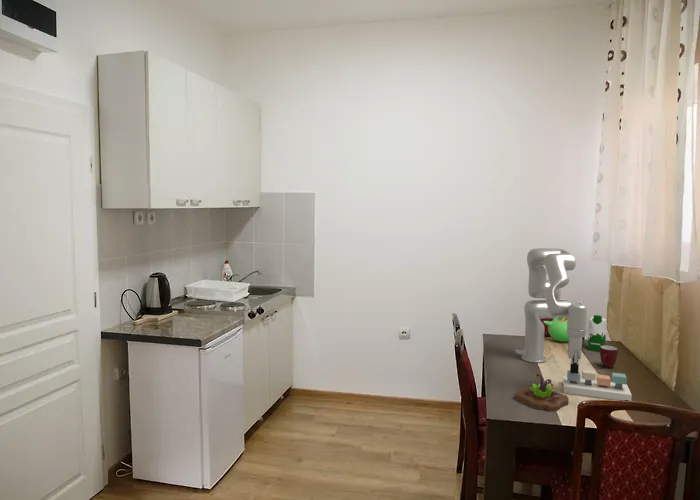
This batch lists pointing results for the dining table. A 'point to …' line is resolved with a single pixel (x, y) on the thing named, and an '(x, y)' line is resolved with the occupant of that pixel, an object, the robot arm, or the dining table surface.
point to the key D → (619, 380)
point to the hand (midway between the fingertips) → (574, 372)
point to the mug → (608, 356)
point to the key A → (573, 376)
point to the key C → (603, 380)
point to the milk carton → (596, 333)
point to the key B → (588, 376)
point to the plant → (542, 396)
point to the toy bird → (558, 328)
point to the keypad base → (596, 390)
